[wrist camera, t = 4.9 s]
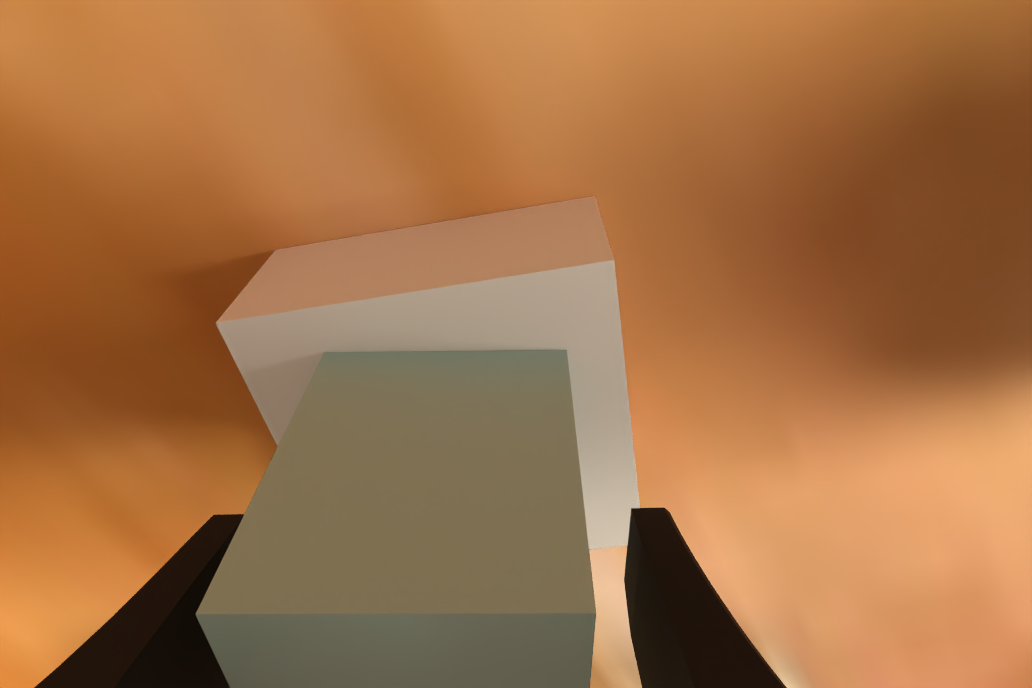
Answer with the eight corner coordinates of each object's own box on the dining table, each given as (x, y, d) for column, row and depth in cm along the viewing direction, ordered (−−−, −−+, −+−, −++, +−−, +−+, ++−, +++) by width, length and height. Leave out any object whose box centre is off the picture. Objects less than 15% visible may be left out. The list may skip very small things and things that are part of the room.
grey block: (593, 190, 15) (614, 260, 12) (622, 440, 19) (643, 543, 16) (280, 243, 16) (215, 323, 13) (373, 472, 20) (343, 577, 17)
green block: (566, 349, 13) (595, 613, 8) (561, 519, 15) (580, 797, 10) (323, 352, 13) (195, 615, 8) (360, 520, 16) (281, 797, 10)
